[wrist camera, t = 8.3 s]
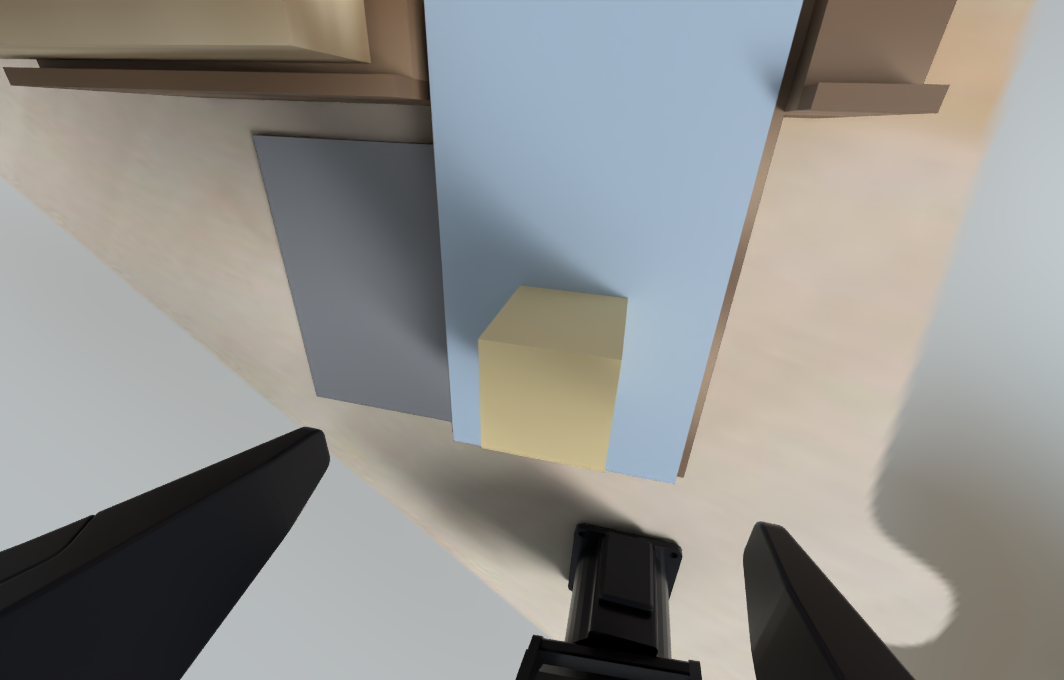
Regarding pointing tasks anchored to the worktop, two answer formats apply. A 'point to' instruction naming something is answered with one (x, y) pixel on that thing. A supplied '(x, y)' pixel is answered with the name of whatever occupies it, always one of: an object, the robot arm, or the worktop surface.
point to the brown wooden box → (403, 78)
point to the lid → (593, 212)
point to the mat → (363, 267)
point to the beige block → (185, 30)
